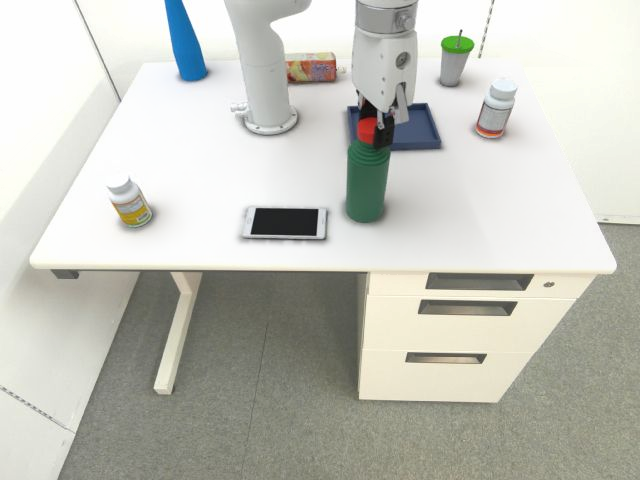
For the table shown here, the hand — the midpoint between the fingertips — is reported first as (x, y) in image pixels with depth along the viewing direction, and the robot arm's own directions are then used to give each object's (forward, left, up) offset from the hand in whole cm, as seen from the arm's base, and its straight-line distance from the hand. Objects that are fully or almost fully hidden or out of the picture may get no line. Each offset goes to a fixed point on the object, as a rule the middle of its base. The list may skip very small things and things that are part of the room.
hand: (374, 137), depth 63 cm
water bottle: (-1, +1, -17) cm, 17 cm away
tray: (+8, +26, -17) cm, 32 cm away
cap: (-1, 0, +2) cm, 2 cm away
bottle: (-43, +56, -17) cm, 73 cm away
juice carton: (-14, +51, -17) cm, 56 cm away
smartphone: (-16, -2, -17) cm, 23 cm away
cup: (+26, +46, -17) cm, 56 cm away
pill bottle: (+30, +24, -17) cm, 42 cm away
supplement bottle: (-44, +1, -17) cm, 47 cm away
